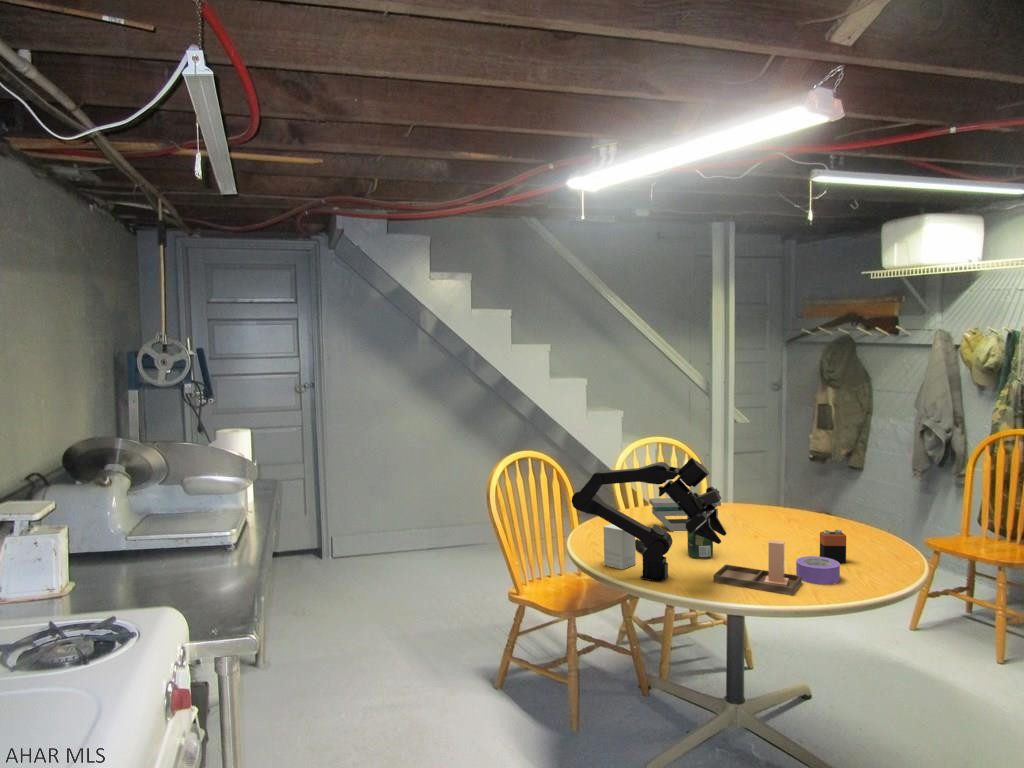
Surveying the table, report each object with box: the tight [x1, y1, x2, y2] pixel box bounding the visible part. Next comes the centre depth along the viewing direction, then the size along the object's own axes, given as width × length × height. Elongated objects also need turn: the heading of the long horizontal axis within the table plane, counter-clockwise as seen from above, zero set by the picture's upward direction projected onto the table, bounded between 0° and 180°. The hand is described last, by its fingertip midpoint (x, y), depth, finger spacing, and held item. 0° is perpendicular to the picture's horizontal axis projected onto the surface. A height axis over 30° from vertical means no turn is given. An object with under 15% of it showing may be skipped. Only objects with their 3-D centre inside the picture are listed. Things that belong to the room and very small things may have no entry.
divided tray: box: [712, 564, 803, 596], centre depth 206 cm, size 22×12×2 cm, turn 57°
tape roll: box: [795, 555, 841, 586], centre depth 210 cm, size 12×12×5 cm
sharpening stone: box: [648, 497, 722, 532], centre depth 268 cm, size 25×8×11 cm, turn 90°
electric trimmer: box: [635, 538, 646, 554], centre depth 238 cm, size 4×16×3 cm, turn 9°
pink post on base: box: [764, 539, 789, 587], centre depth 203 cm, size 6×6×12 cm
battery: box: [819, 529, 847, 564], centre depth 225 cm, size 4×7×10 cm, turn 85°
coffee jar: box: [686, 516, 714, 560], centre depth 234 cm, size 10×8×19 cm
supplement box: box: [603, 523, 637, 570], centre depth 225 cm, size 7×7×13 cm
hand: (722, 538), depth 204 cm, fingers open, 9 cm apart
